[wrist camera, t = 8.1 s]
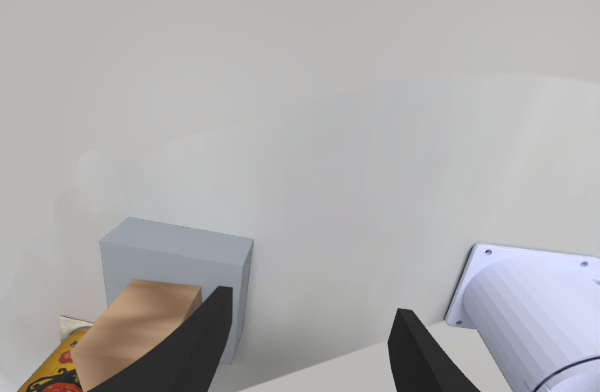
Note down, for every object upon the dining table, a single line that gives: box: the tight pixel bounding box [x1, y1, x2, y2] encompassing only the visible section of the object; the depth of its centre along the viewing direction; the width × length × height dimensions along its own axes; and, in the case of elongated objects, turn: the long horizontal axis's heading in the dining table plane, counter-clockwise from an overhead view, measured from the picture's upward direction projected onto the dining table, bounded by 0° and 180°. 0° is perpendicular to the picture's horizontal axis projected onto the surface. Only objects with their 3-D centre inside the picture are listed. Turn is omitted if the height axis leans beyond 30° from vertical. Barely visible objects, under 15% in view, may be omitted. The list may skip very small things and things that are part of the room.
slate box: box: [100, 217, 253, 365], centre depth 25 cm, size 10×10×4 cm
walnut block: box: [70, 279, 202, 392], centre depth 20 cm, size 5×5×6 cm
